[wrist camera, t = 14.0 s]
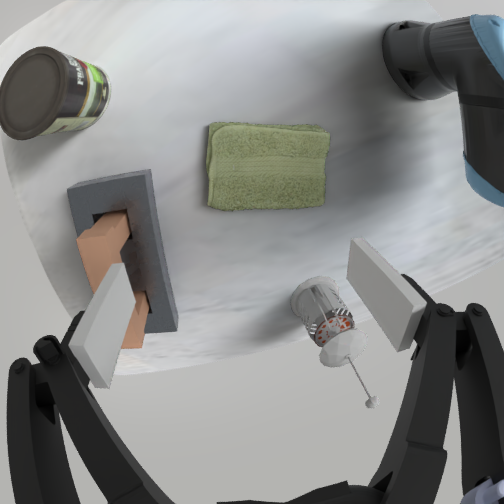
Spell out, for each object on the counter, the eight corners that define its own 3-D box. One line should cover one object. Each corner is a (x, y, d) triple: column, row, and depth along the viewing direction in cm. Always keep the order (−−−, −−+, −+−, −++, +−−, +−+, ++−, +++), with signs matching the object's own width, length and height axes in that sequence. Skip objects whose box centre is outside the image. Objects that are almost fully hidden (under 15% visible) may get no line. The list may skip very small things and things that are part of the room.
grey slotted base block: (78, 182, 35) (66, 189, 32) (150, 169, 37) (144, 174, 33) (117, 320, 47) (112, 335, 43) (178, 316, 48) (177, 331, 45)
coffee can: (86, 51, 27) (39, 29, 14) (124, 93, 31) (84, 82, 19) (41, 102, 28) (-15, 104, 16) (76, 144, 33) (23, 160, 20)
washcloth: (205, 121, 35) (205, 121, 33) (326, 125, 38) (335, 126, 35) (207, 210, 41) (207, 217, 38) (319, 207, 44) (327, 214, 41)
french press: (299, 326, 54) (345, 434, 32) (279, 283, 48) (330, 404, 26) (344, 304, 53) (406, 402, 31) (330, 259, 48) (408, 362, 26)
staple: (107, 207, 38) (76, 239, 27) (131, 203, 38) (105, 235, 28) (131, 300, 46) (116, 348, 35) (152, 299, 46) (141, 348, 35)
